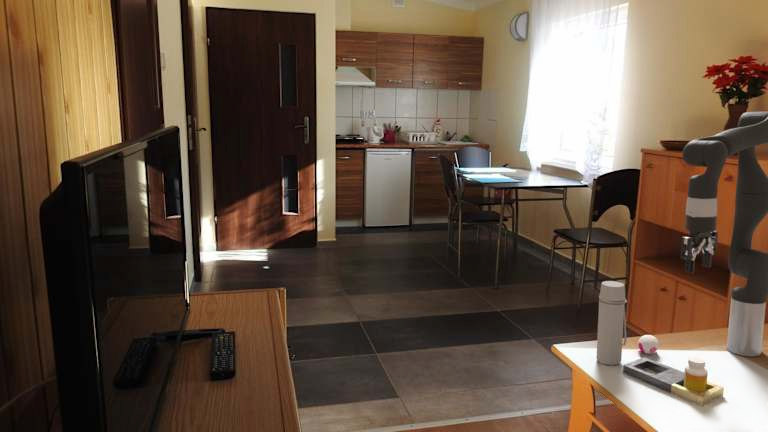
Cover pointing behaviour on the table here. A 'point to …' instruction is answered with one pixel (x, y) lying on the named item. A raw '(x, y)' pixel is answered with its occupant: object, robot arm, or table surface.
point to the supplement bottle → (695, 375)
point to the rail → (671, 381)
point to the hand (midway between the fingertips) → (698, 270)
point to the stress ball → (648, 344)
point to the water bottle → (611, 322)
